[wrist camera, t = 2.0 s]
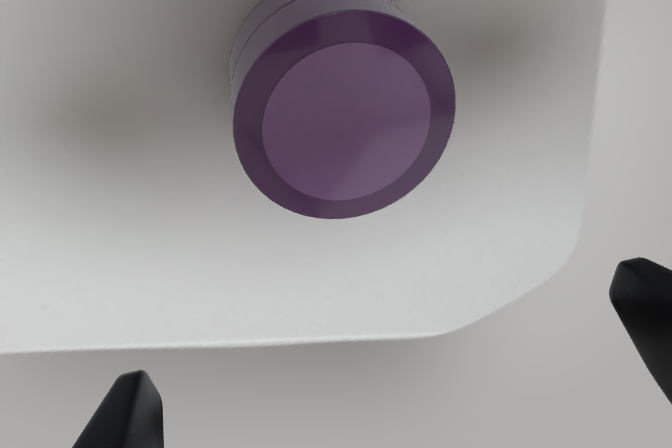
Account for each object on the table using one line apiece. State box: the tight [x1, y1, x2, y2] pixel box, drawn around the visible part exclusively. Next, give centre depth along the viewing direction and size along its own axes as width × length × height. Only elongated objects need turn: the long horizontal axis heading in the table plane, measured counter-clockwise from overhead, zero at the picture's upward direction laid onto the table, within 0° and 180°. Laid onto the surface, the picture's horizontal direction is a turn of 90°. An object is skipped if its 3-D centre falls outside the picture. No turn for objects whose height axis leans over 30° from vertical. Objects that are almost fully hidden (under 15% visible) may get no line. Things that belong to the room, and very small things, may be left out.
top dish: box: [231, 0, 455, 219], centre depth 15 cm, size 7×7×2 cm
